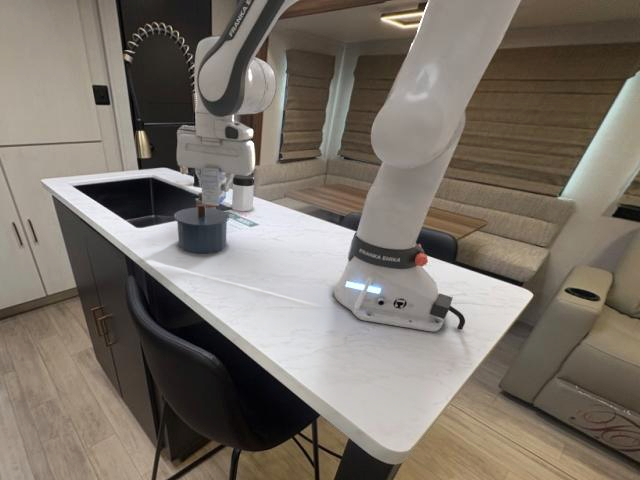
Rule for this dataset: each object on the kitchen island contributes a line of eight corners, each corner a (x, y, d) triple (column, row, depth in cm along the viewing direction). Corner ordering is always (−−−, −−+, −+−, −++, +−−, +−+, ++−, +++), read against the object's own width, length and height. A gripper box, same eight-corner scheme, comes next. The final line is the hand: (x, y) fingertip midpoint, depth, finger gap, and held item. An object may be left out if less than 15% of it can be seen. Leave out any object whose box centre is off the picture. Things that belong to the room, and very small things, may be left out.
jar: (253, 212, 118) (255, 179, 112) (231, 211, 118) (233, 178, 111) (251, 205, 126) (253, 174, 119) (231, 204, 125) (232, 173, 119)
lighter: (193, 221, 107) (192, 191, 101) (200, 218, 109) (199, 189, 103) (211, 226, 103) (211, 196, 97) (218, 224, 105) (218, 194, 100)
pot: (233, 242, 92) (234, 214, 88) (212, 260, 82) (212, 229, 77) (194, 234, 96) (194, 207, 92) (169, 249, 86) (167, 219, 81)
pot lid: (237, 216, 88) (238, 203, 86) (213, 233, 77) (213, 217, 74) (192, 208, 93) (192, 195, 91) (163, 222, 81) (161, 207, 79)
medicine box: (218, 206, 77) (219, 169, 72) (201, 204, 78) (200, 168, 73) (226, 198, 83) (226, 164, 79) (210, 196, 84) (210, 162, 79)
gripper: (169, 124, 72) (173, 185, 80) (249, 132, 66) (245, 198, 73) (183, 123, 77) (186, 181, 85) (259, 130, 71) (255, 192, 78)
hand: (214, 189), depth 79 cm, fingers closed on medicine box, 5 cm apart
